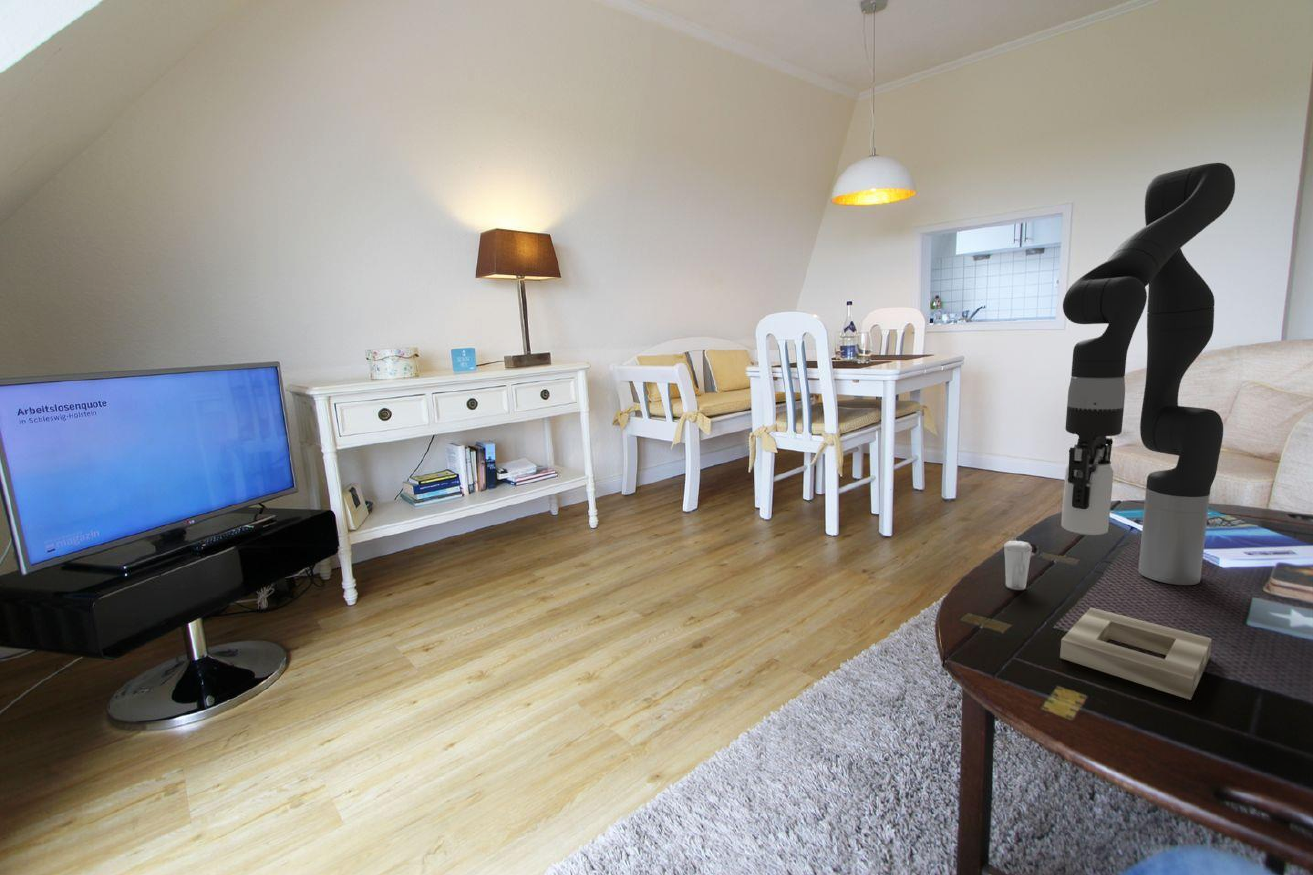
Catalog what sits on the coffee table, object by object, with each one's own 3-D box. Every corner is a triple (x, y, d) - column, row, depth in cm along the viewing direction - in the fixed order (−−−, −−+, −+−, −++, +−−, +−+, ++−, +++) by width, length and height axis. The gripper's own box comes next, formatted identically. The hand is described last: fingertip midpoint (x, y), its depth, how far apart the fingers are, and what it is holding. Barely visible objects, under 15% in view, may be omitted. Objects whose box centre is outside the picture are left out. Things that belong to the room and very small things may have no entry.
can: (1093, 524, 105) (1099, 456, 103) (1116, 536, 98) (1123, 464, 96) (1053, 524, 105) (1058, 456, 103) (1074, 536, 99) (1080, 465, 97)
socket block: (1089, 624, 101) (1090, 607, 100) (1209, 657, 90) (1211, 638, 89) (1059, 657, 91) (1061, 639, 91) (1190, 699, 80) (1193, 679, 80)
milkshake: (1025, 581, 118) (1028, 532, 117) (1032, 592, 113) (1035, 541, 112) (998, 579, 120) (1001, 531, 118) (1004, 590, 115) (1007, 540, 113)
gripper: (1110, 410, 91) (1100, 517, 94) (1135, 401, 100) (1126, 499, 103) (1053, 407, 97) (1046, 508, 99) (1082, 398, 106) (1074, 491, 108)
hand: (1086, 503), depth 101 cm, fingers closed on can, 6 cm apart
